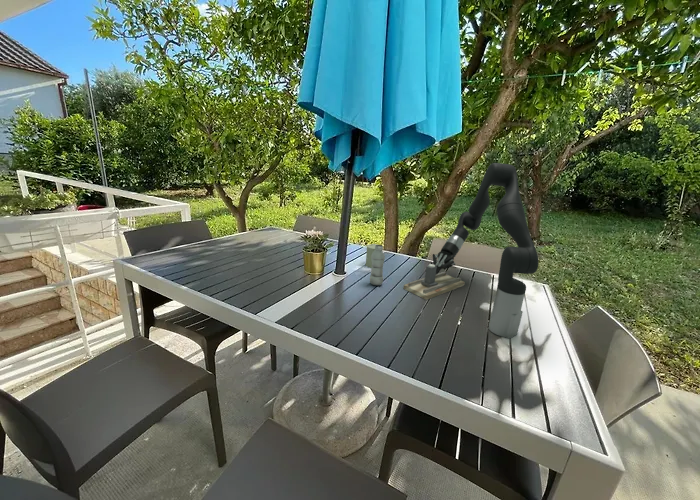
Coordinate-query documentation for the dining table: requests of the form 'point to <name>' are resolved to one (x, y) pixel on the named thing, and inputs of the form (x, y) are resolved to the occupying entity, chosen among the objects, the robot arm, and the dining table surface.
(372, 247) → the can
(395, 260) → the dining table surface
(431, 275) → the fader tab
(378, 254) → the plastic bottle
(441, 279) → the wooden tray
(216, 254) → the dining table surface
